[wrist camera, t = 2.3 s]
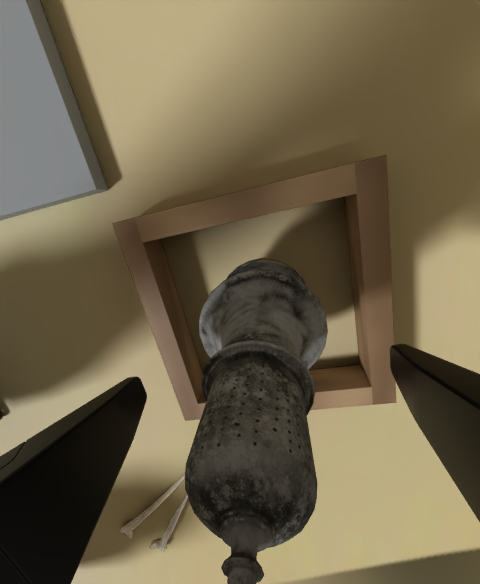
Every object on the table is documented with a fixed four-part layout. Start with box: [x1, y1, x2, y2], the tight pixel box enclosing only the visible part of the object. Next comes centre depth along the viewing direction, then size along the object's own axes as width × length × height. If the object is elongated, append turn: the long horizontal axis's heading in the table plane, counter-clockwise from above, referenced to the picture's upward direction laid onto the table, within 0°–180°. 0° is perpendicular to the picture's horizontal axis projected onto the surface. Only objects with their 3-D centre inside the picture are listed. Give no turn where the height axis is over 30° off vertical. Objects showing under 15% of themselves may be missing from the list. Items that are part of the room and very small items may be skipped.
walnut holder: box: [112, 155, 396, 420], centre depth 14 cm, size 12×12×2 cm
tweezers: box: [120, 473, 188, 552], centre depth 22 cm, size 17×5×2 cm, turn 151°
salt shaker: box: [185, 259, 328, 584], centre depth 9 cm, size 6×6×12 cm
